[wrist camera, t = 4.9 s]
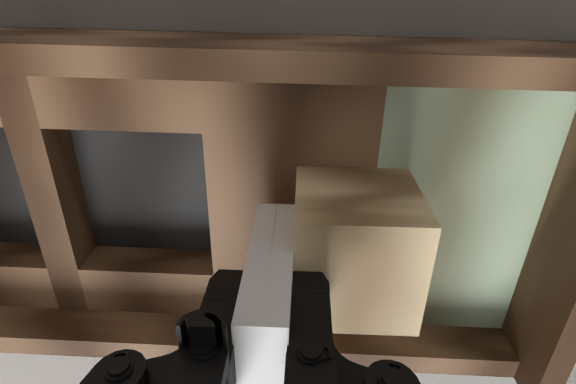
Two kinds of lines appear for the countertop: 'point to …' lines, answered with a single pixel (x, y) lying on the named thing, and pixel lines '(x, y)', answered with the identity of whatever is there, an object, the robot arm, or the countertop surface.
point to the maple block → (367, 245)
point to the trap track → (283, 182)
